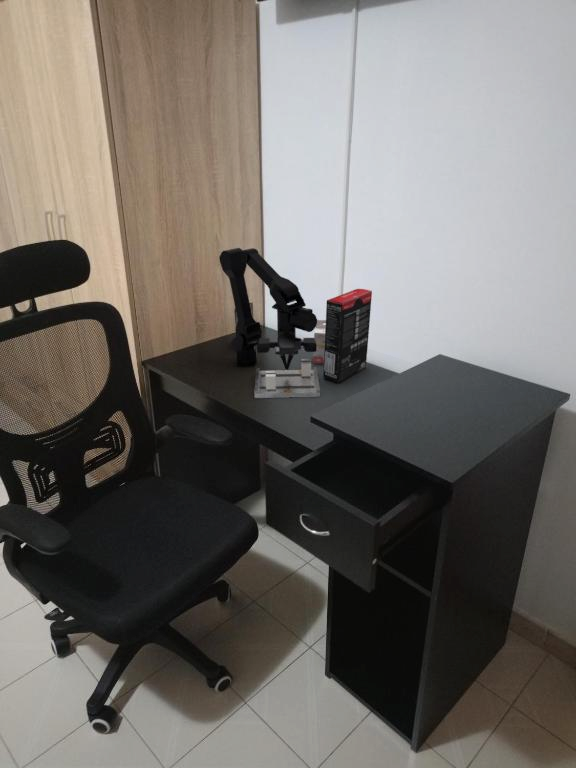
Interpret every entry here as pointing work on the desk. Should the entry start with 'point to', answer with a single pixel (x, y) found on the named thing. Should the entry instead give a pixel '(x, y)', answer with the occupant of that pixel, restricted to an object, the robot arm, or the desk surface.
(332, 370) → the graphics card box
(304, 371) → the fader
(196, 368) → the desk surface
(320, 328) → the ink cartridge box
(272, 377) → the fader
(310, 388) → the console
